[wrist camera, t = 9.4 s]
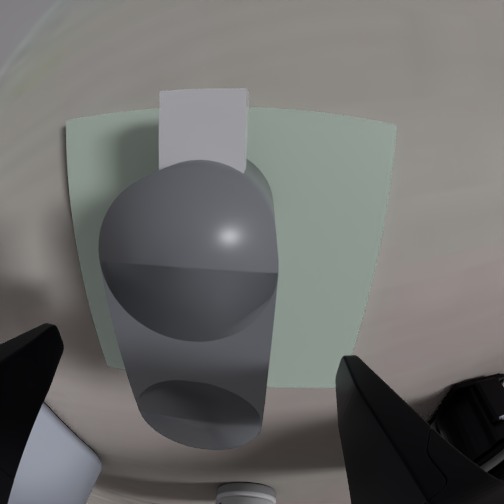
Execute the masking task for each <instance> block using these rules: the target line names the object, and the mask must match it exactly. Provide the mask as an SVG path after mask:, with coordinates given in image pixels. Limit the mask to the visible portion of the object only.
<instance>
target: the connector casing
mask: <svg viewBox="0 0 504 504" xmlns="http://www.w3.org/2000/svg"><path fill="white" fill-rule="evenodd" d="M248 111H249V92H248V90H247V89H240V88H211V89H183V90H168V91H160V101H159V171H157V172H155V173H153V174H150V175H148V176H146V177H144V178H142V179H140V180H138V181H136V182H135V183H133V184H131V185H130V186H129V187H127V188H126V189H125V190H124V191H122V192H121V193H120V194H119V196H118V197H117V198H116V199H115V200H114V201H113V203H112V204H111V206H110V207H109V209H108V211H107V213H106V215H105V217H104V219H103V222H102V226H101V229H100V235H99V247H98V251H99V261H100V266H101V272H102V277H103V283H104V288H105V292H106V297H107V302H108V306H109V311H110V315H111V319H112V323H113V327H114V331H115V335H116V338H117V342H118V346H119V349H120V353H121V356H122V360H123V363H124V366H125V370H126V373H127V376H128V379H129V382H130V385H131V388H132V391H133V394H134V397H135V400H136V402H137V405H138V408H139V411H140V413H141V415H142V417H143V418H144V420H145V421H146V422H147V423H148V424H149V425H150V426H151V427H152V428H153V429H154V430H156V431H157V432H158V433H160V434H162V435H163V436H165V437H167V438H169V439H171V440H173V441H175V442H178V443H180V444H183V445H186V446H190V447H194V448H200V449H208V450H224V449H231V448H236V447H239V446H243V445H245V444H247V443H249V442H251V441H252V440H253V439H255V438H256V437H257V435H258V434H259V433H260V431H261V427H262V421H263V413H264V405H265V396H266V388H267V379H268V371H269V362H270V353H271V344H272V334H273V325H274V315H275V305H276V294H277V284H278V272H279V260H278V248H277V237H276V225H275V215H274V204H273V196H272V192H271V188H270V186H269V184H268V181H267V180H266V178H265V176H264V175H263V173H262V172H261V171H260V170H259V169H258V168H257V167H256V166H255V165H254V164H253V163H252V162H250V161H249V160H247V134H248Z"/></svg>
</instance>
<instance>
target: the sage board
mask: <svg viewBox="0 0 504 504" xmlns="http://www.w3.org/2000/svg"><path fill="white" fill-rule="evenodd" d="M396 132H397V125H396V124H391V123H386V122H381V121H376V120H370V119H364V118H358V117H352V116H345V115H338V114H331V113H323V112H314V111H304V110H294V109H281V108H265V107H249V111H248V134H247V160H249V161H250V162H252V163H253V164H254V165H255V166H256V167H257V168H258V169H259V170H260V171H261V172H262V173H263V175H264V176H265V178H266V180H267V181H268V184H269V186H270V188H271V192H272V196H273V204H274V215H275V225H276V237H277V248H278V260H279V272H278V284H277V294H276V305H275V315H274V325H273V334H272V344H271V353H270V362H269V371H268V379H267V387H278V388H336V385H335V378H336V373H337V370H338V367H339V364H340V361H341V358H342V357H343V356H344V355H352V352H353V349H354V346H355V343H356V339H357V336H358V333H359V329H360V326H361V322H362V319H363V315H364V312H365V308H366V304H367V300H368V297H369V293H370V289H371V285H372V280H373V276H374V272H375V268H376V263H377V258H378V254H379V249H380V244H381V239H382V234H383V229H384V223H385V217H386V212H387V206H388V199H389V193H390V186H391V178H392V170H393V162H394V153H395V143H396ZM66 150H67V170H68V183H69V194H70V203H71V212H72V220H73V227H74V233H75V240H76V246H77V251H78V257H79V262H80V267H81V272H82V277H83V281H84V286H85V290H86V295H87V299H88V303H89V307H90V310H91V314H92V318H93V322H94V325H95V329H96V332H97V335H98V339H99V342H100V345H101V348H102V351H103V355H104V358H105V361H106V364H107V366H108V367H113V368H118V369H122V370H125V366H124V363H123V360H122V356H121V353H120V349H119V346H118V342H117V338H116V335H115V331H114V327H113V323H112V319H111V315H110V311H109V306H108V302H107V297H106V292H105V288H104V283H103V277H102V272H101V266H100V261H99V251H98V247H99V235H100V229H101V226H102V222H103V219H104V217H105V215H106V213H107V211H108V209H109V207H110V206H111V204H112V203H113V201H114V200H115V199H116V198H117V197H118V196H119V194H120V193H121V192H122V191H124V190H125V189H126V188H127V187H129V186H130V185H131V184H133V183H135V182H136V181H138V180H140V179H142V178H144V177H146V176H148V175H150V174H153V173H155V172H157V171H159V108H156V109H143V110H133V111H123V112H115V113H107V114H100V115H93V116H87V117H81V118H75V119H69V120H66Z"/></svg>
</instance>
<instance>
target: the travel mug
mask: <svg viewBox="0 0 504 504" xmlns="http://www.w3.org/2000/svg"><path fill="white" fill-rule="evenodd" d="M275 503H276V492H275V490H274V489H272V488H270V487H268V486H266V485H262V484H256V483H245V482H238V483H229V484H225V485H222V486H220V487H219V488H218V489H217V495H216V503H215V504H275Z"/></svg>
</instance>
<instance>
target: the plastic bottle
mask: <svg viewBox="0 0 504 504" xmlns="http://www.w3.org/2000/svg"><path fill="white" fill-rule="evenodd" d="M101 468H102V466H101V462H100V459H99V458H98V456H97V455H96V453H95V452H94V451H93V450H92V449H91V448H90V447H88V446H87V445H86V444H85V443H84V442H83V441H82V440H81V439H80V438H79V437H77V436H76V435H75V434H74V433H73V432H72V431H71V430H70V429H69V428H68V427H67V426H66V425H65V424H64V423H63V422H62V421H61V420H60V419H59V418H58V417H57V416H56V415H55V414H54V413H53V412H52V411H51V409H50V408H49V407H48V406H47V405H46V404H45V403H44V402H43V404H42V406H41V409H40V411H39V413H38V416H37V418H36V421H35V423H34V426H33V428H32V431H31V433H30V436H29V438H28V441H27V444H26V447H25V449H24V452H23V455H22V458H21V461H20V464H19V467H18V470H17V473H16V476H15V479H14V483H13V486H12V490H11V493H10V497H9V501H8V504H86V502H87V500H88V497H89V495H90V493H91V491H92V489H93V487H94V485H95V483H96V480H97V478H98V476H99V474H100V472H101Z"/></svg>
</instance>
